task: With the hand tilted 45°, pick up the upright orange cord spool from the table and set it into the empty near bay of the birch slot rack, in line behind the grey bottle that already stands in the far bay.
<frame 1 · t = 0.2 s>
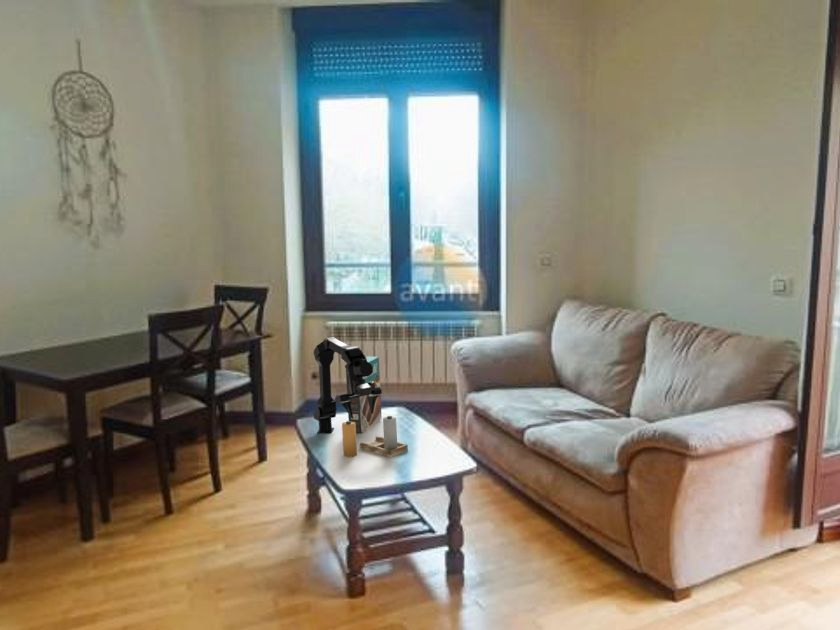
hand: (362, 415, 275), 15 cm above the table, tool pointing down, fingers open, 9 cm apart
slot rack: (383, 449, 280), on the table
grey bottle: (390, 449, 277), point 1 cm above the table, touching slot rack
orange spool: (350, 454, 276), on the table
cake mix box: (365, 426, 312), on the table
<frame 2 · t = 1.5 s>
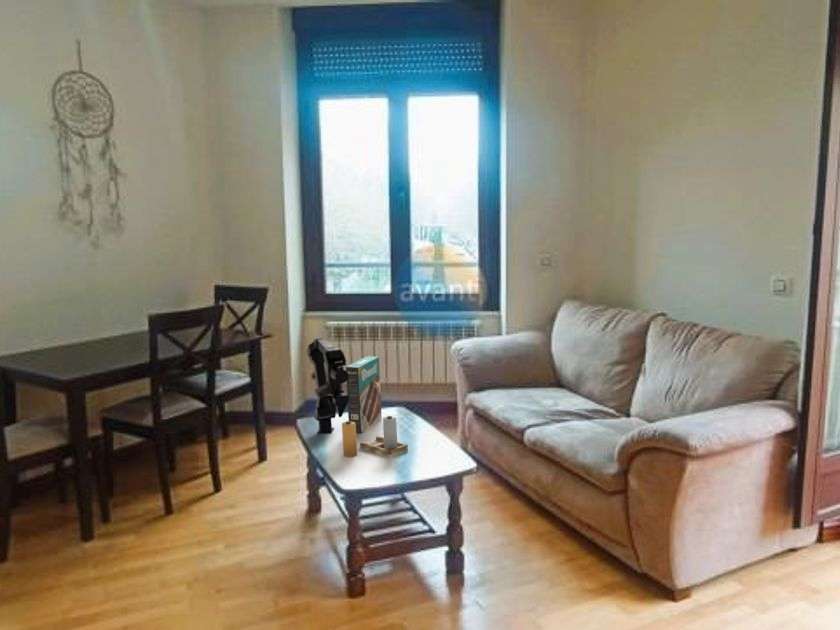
hand: (336, 414, 287), 13 cm above the table, tool pointing down, fingers open, 9 cm apart
nothing on the table moved.
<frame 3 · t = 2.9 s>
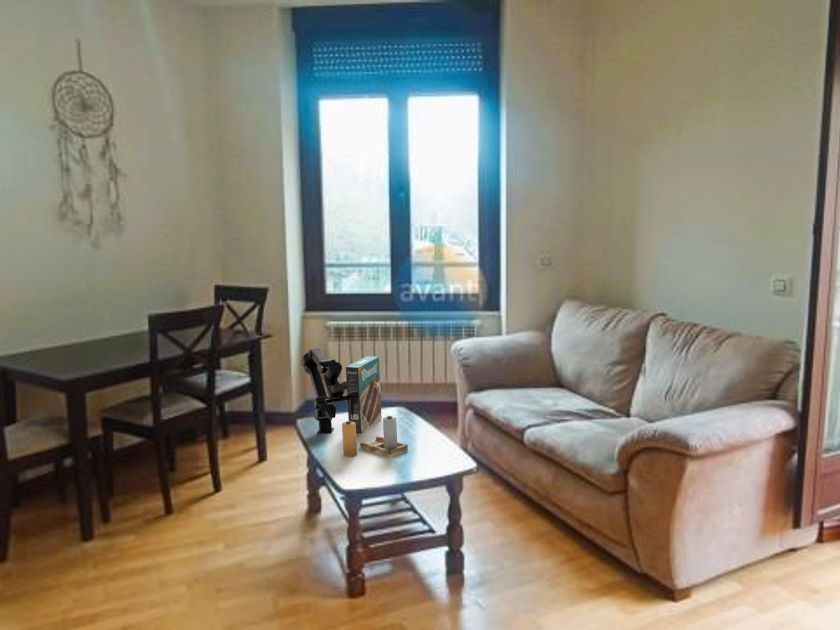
hand: (342, 417, 281), 13 cm above the table, tool tilted 45°, fingers open, 9 cm apart
nothing on the table moved.
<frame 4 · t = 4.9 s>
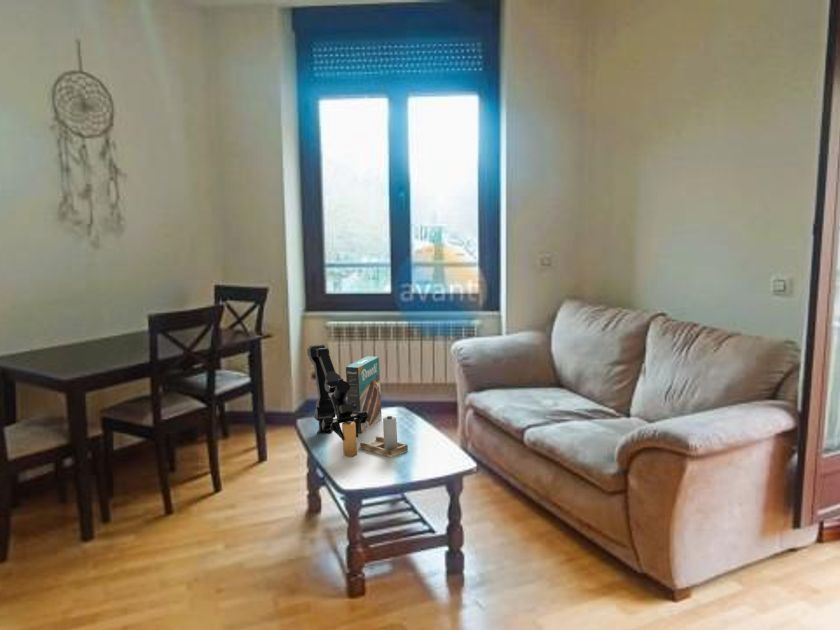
hand: (350, 438, 273), 7 cm above the table, tool tilted 45°, fingers closed on orange spool, 5 cm apart
orange spool: (350, 454, 276), on the table, touching gripper
everything else where it was.
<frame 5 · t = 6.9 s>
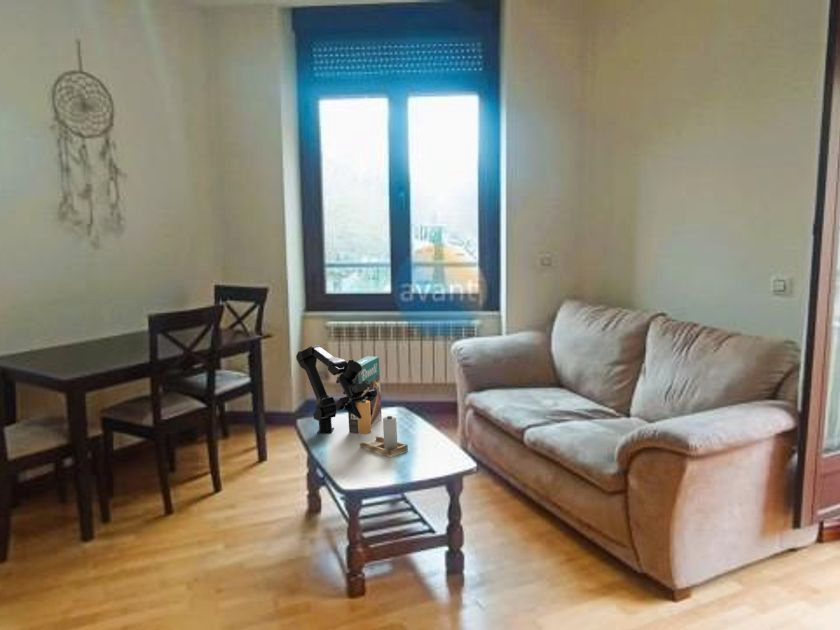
hand: (366, 416, 281), 13 cm above the table, tool tilted 45°, fingers closed on orange spool, 5 cm apart
orange spool: (364, 432, 283), point 6 cm above the table, touching gripper
everything else where it was.
when the fingers open (9 cm above the table, at t = 9.1 s): orange spool drops 1 cm, resting on slot rack.
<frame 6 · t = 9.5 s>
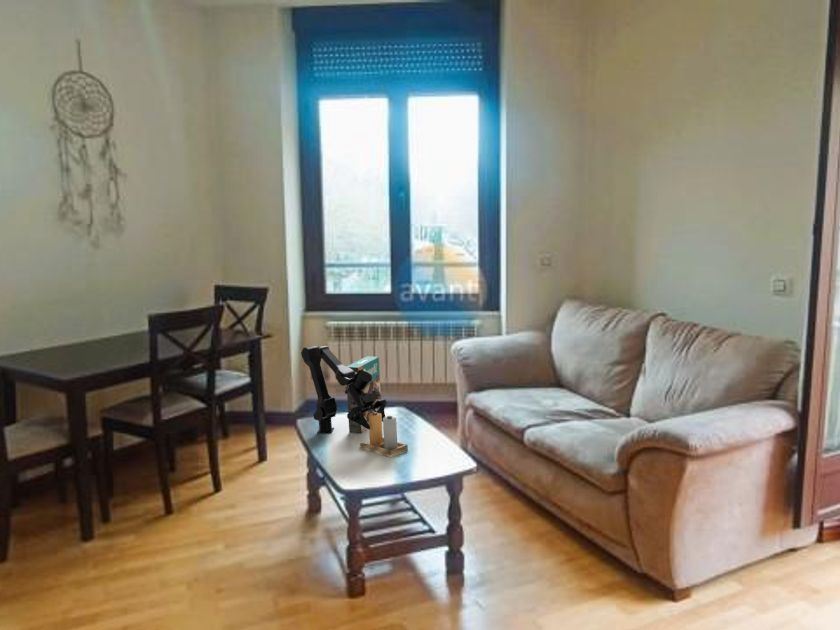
hand: (377, 426, 281), 9 cm above the table, tool tilted 45°, fingers open, 9 cm apart
orange spool: (376, 444, 283), point 1 cm above the table, touching slot rack
everything else where it was.
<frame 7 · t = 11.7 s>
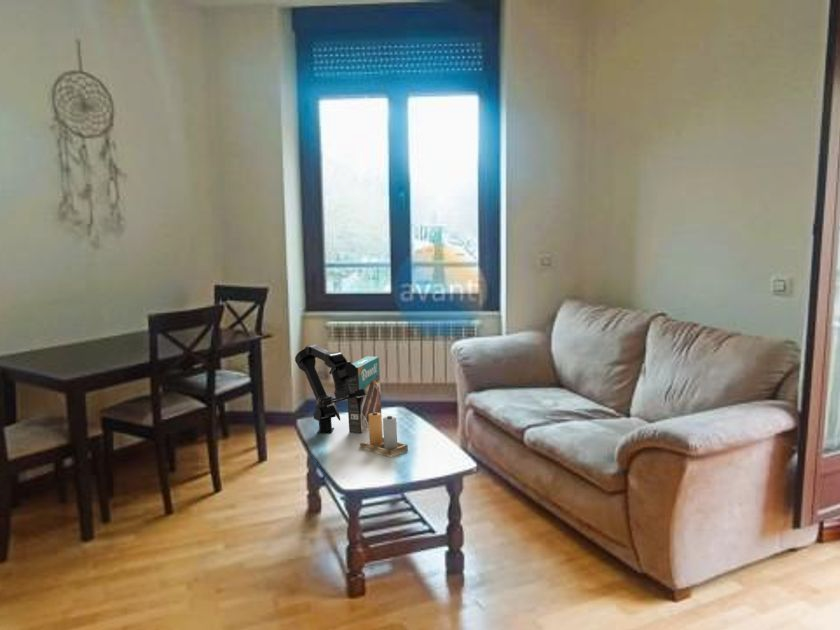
hand: (350, 417, 289), 11 cm above the table, tool tilted 20°, fingers open, 9 cm apart
nothing on the table moved.
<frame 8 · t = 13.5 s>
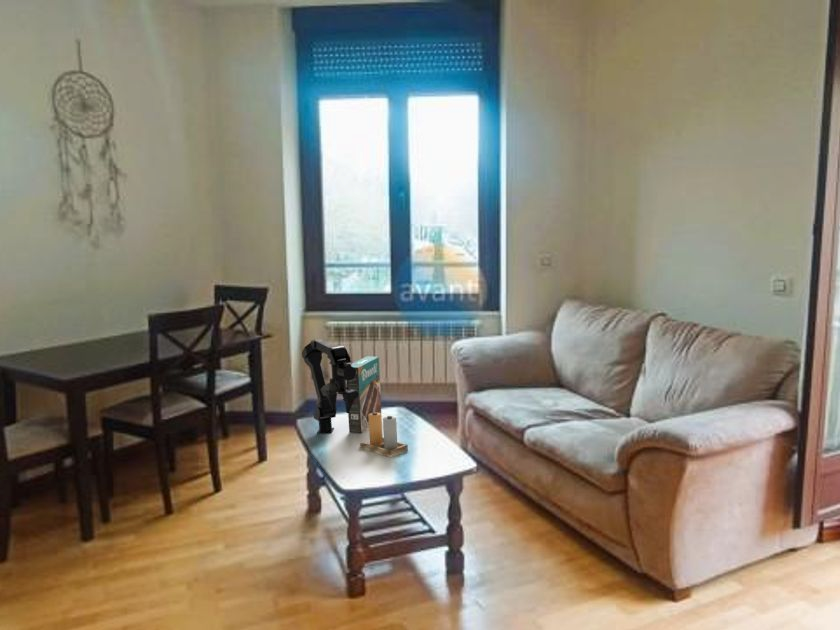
hand: (340, 411, 291), 13 cm above the table, tool pointing down, fingers open, 9 cm apart
nothing on the table moved.
at the end: orange spool 0.1 cm from the target spot, point 1.0 cm above the table; orange spool tilted 0°; grey bottle moved 0.0 cm from its start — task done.
